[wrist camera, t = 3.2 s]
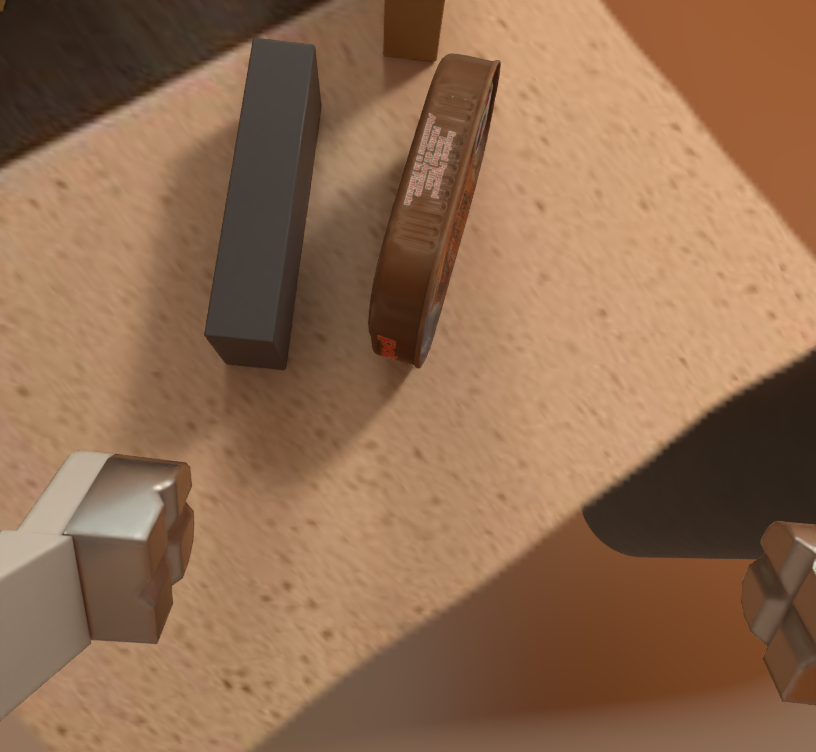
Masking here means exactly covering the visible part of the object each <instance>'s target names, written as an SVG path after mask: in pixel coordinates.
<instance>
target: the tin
mask: <svg viewBox="0 0 816 752" xmlns="http://www.w3.org/2000/svg"><path fill="white" fill-rule="evenodd" d="M500 66H501V62H500V61H499V60H495V61H489V60H484V59H480V58H475V57H471V56H466V55H460V54H448V55H446V56H445V57H444V58H443V59H442V60H441V61H440V63H439V65H438V67H437V69H436V72H435V74H434V77H433V79H432V82H431V85H430V88H429V91H428V94H427V97H426V100H425V104H424V107H423V110H422V113H421V116H420V120H419V123H418V126H417V129H416V132H415V136H414V139H413V142H412V145H411V148H410V152H409V155H408V158H407V161H406V165H405V168H404V171H403V175H402V178H401V181H400V185H399V188H398V192H397V195H396V199H395V202H394V205H393V209H392V212H391V216H390V219H389V223H388V226H387V229H386V233H385V236H384V240H383V244H382V248H381V251H380V255H379V259H378V264H377V268H376V273H375V277H374V282H373V288H372V294H371V299H370V308H369V319H368V326H369V333H370V336H371V341H372V348H373V351H374V352H375V353H376V354H377V355H380V356H382V357H386V358H389V359H393V360H397V361H401V362H405V363H409V364H412V365H414V366H415V367H416V368H421V367H422V365H423V363H424V361H425V359H426V357H427V355H428V352H429V350H430V347H431V344H432V340H433V337H434V334H435V330H436V326H437V323H438V320H439V316H440V313H441V310H442V306H443V303H444V299H445V295H446V292H447V288H448V285H449V281H450V277H451V273H452V270H453V266H454V263H455V259H456V256H457V252H458V248H459V245H460V241H461V238H462V234H463V231H464V227H465V223H466V220H467V216H468V213H469V209H470V205H471V202H472V198H473V194H474V191H475V187H476V183H477V179H478V174H479V171H480V167H481V163H482V159H483V155H484V151H485V146H486V142H487V137H488V132H489V128H490V122H491V118H492V113H493V108H494V101H495V97H496V92H497V87H498V80H499V75H500Z"/></svg>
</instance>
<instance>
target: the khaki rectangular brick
mask: <svg viewBox="0 0 816 752" xmlns="http://www.w3.org/2000/svg"><path fill="white" fill-rule="evenodd" d="M444 2H445V0H385V5H384V39H383V55H384V56H391V57H400V58H409V59H417V60H426V61H436V60H437V53H438V46H439V39H440V31H441V24H442V17H443V10H444Z"/></svg>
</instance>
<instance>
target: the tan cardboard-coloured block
mask: <svg viewBox="0 0 816 752" xmlns="http://www.w3.org/2000/svg"><path fill="white" fill-rule="evenodd" d="M5 1H6V0H0V12H3V8H4V4H5Z"/></svg>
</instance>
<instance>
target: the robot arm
mask: <svg viewBox="0 0 816 752" xmlns="http://www.w3.org/2000/svg"><path fill="white" fill-rule="evenodd" d="M191 488H192V480H191V470H190V466H189V465H188V464H187V463H186V462H178V461H170V460H162V459H153V458H145V457H137V456H129V455H121V454H114V455H113V454H108V453H99V452H91V451H82V450H77V451H76V452H74V453H72V454H70V455H69V456H68V457H67V459H66V460H65V461H64V463H63V464H62V466H61V467H60V469H59V470H58V472H57V473H56V474H55V476H54V477H53V479H52V480H51V482H50V483H49V484H48V486H47V487H46V489H45V490H44V492H43V493H42V494H41V496H40V497H39V499H38V500H37V502H36V503H35V504H34V506H33V507H32V509H31V510H30V512H29V513H28V514H27V516H26V517H25V519H24V520H23V522H22V523H21V524H20V526H19V527H18V529H17V530H16V531H12V530H3V531H1V532H0V721H1V720H2V719H3V718H4V717H6V716H7V715H8V714H9V713H10V712H11V711H13V710H14V709H15V708H16V707H17V706H18V705H20V704H21V703H22V702H23V701H24V700H26V699H27V698H28V697H29V696H30V695H31V694H33V693H34V692H35V691H36V690H37V689H38V688H40V687H41V686H42V685H43V684H44V683H45V682H47V681H48V680H49V679H50V678H51V677H52V676H54V675H55V674H56V673H57V672H58V671H59V670H61V669H62V668H63V667H64V666H65V665H66V664H68V663H69V662H70V661H71V660H72V659H73V658H75V657H76V656H77V655H78V654H79V653H80V652H82V651H83V650H84V649H85V648H86V647H87V646H89V645H90V644H91V640H103V641H119V642H134V643H150V644H157V643H158V640H159V638H160V635H161V633H162V630H163V628H164V625H165V623H166V620H167V618H168V615H169V612H170V610H171V607H172V605H173V597H172V585H174V584H175V583H176V582H178V581H179V580H181V579H182V578H183V576H184V573H185V571H186V568H187V565H188V562H189V559H190V554H191V549H192V544H193V538H194V511H193V509H192V508H191V507H190V506H189V505H188V504H187V503H186V499H187V497H188V495H189V492H190V490H191ZM761 544H762V547H763V549H764V552H765V555H764V556H762V557H761V558H759V559H757V560H756V561H754V562H753V563H752V564H750V565H749V567H748V569H747V572H746V574H745V576H744V579H743V581H742V590H741V604H742V609H743V614H744V618H745V620H746V622H747V624H748V627H749V629H750V631H751V632H752V633H753V634H754V635H755V636H756V637H758V638H759V639H760V640H761V641H762V642H763V643H765V644H766V645H767V649H766V652H765V654H764V657H763V660H764V662H765V665H766V667H767V669H768V671H769V673H770V675H771V678H772V680H773V682H774V684H775V686H776V688H777V690H778V693H779V695H780V697H781V699H782V701H783V702H792V703H800V704H808V705H816V525H812V524H801V523H791V522H780V521H775V522H774V523H773V524H772V525H770V526H769V527H768V528H767V530H766V532H765V534H764V536H763V538H762V540H761Z"/></svg>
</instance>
